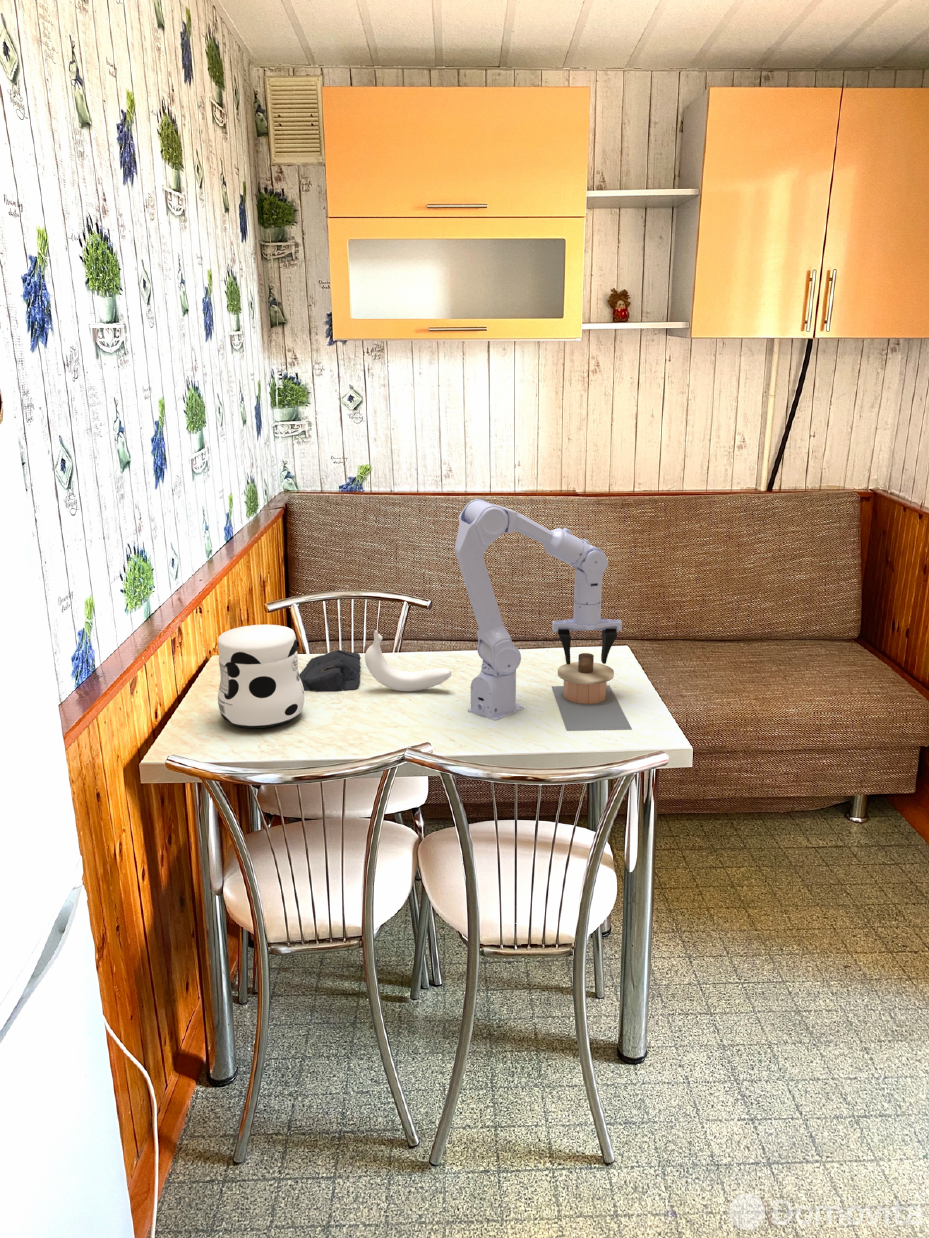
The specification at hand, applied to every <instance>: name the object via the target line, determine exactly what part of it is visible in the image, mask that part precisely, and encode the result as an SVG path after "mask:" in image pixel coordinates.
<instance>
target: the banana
mask: <svg viewBox="0 0 929 1238" xmlns="http://www.w3.org/2000/svg"><path fill="white" fill-rule="evenodd" d="M383 639H384V638H383V636H382V635H381V634H380V633H378V631H377V630H374V633H373V643H372V644H371V645H369V647H368V648H367V650H366V651H365V655H364V661H365V666H366V667H367V670H368V672H369V673H370V674H371V676H372V677H373V678H374V679H375V680H376V681H377V682H378V683H379V684H381V685H383V686H384V687H386V688H388V689H391V690H393V691H398V692H420V691H423V690H426V689H430V688H432V687H433V688H434V687H435V686H438V685H441V684H442V683H444V682H446V681H447V680H449V679H450V678H451V677H452V671H451V670H450V669H448V668H443V667H440V668H439V667H438V668H437V667H436V668H430V669H426V670H425V669H424V670H420V671H404V670H401V669H397V668H395V667H393V666H392V665H391V664H389V662H388V660H386V658H385V656H384V655H383V652H382V648H381V642H382V640H383Z"/></svg>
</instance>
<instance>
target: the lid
mask: <svg viewBox="0 0 929 1238" xmlns="http://www.w3.org/2000/svg"><path fill="white" fill-rule="evenodd" d="M594 657H595V656H594V654H593V653H589V652H584V653H583V652H582V653H579V654H578V661H574V662H570V664H566V663H564V664H562V665H561V666H558V668H557V676H558V677H559V678H560V679H561V680H563V681H564V680H565V681H568V682H572V683H578V684H599V683H604V682H609V681H611V680H613V679H614V677H615V670H614V669H613V668H612V667H610V666H609V665H606V664H603V663H599V662H594Z"/></svg>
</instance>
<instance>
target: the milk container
mask: <svg viewBox="0 0 929 1238" xmlns="http://www.w3.org/2000/svg"><path fill="white" fill-rule="evenodd" d="M217 643H218V644H217V646H218V655H219V656H218V664H219V673H220V681H219V687H218V691H217V692H218V693H217V704H218V705H217V706H218V709H219V712H220V715H221V717H222V719H224V720H225V722H227V723H228V724H230V725H232V726H236V727H239V728H245V729H261V728H262V729H263V728H271V727H272V728H273V727H276V726H280V725H284V724H286V723H289V722H291V721H292V720H294V719H296V718H297V717H298V716H299V715H300V714H301V713H302V712H303V711H302V710H303V709H304V704H305V691H304V688H303V684H302V682H301V679H300V676H299V674H300V673H299V663H298V662H299V660H298V659H299V656H298V654H299V653H298V642H297V637H296V633H295V631H294V629H292V628H290V627H288V626H285V625H284V626H283V625H278V624H252V625H245V626H239V627H236V628H231V629H229V630H226V631H224V632H222V633H221V634H220V635H219V636H218V642H217Z"/></svg>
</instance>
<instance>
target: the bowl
mask: <svg viewBox="0 0 929 1238" xmlns="http://www.w3.org/2000/svg"><path fill="white" fill-rule="evenodd" d="M607 682H608V681H607ZM607 682H604V683H599V684H578V683H572V682H568V681H565V680H563V686H564V691H563V696H564V697H565V698H566V699H567V700H569V701H572V702H575V703H584V704H591V703H598V702H601V701H603V700H605V698H606V687H607V685H608V683H607Z"/></svg>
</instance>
